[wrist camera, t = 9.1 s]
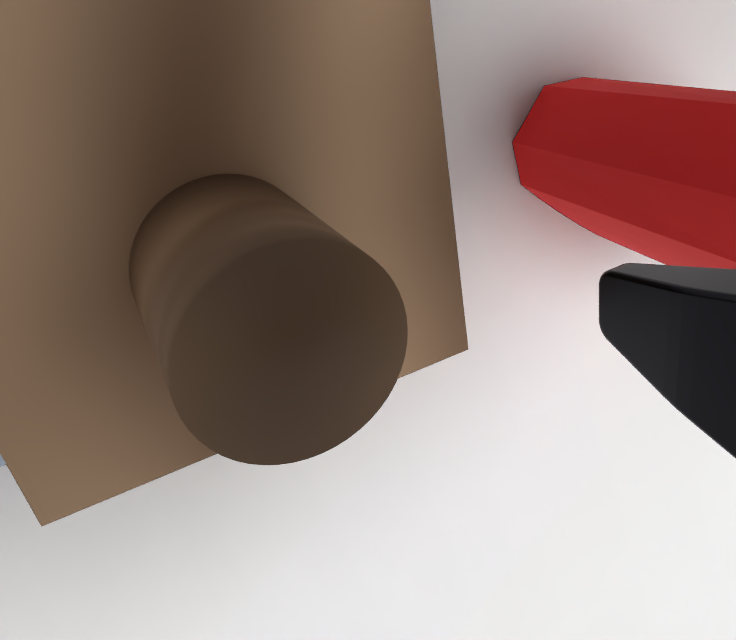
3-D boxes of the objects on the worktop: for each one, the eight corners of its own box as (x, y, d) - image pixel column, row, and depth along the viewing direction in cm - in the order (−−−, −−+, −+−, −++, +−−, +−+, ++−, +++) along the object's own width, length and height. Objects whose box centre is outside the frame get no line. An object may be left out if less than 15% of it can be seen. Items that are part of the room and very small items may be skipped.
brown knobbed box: (296, -100, 16) (568, -196, 8) (365, 268, 21) (579, 437, 13) (-167, -21, 14) (-457, -47, 5) (36, 385, 18) (47, 695, 10)
